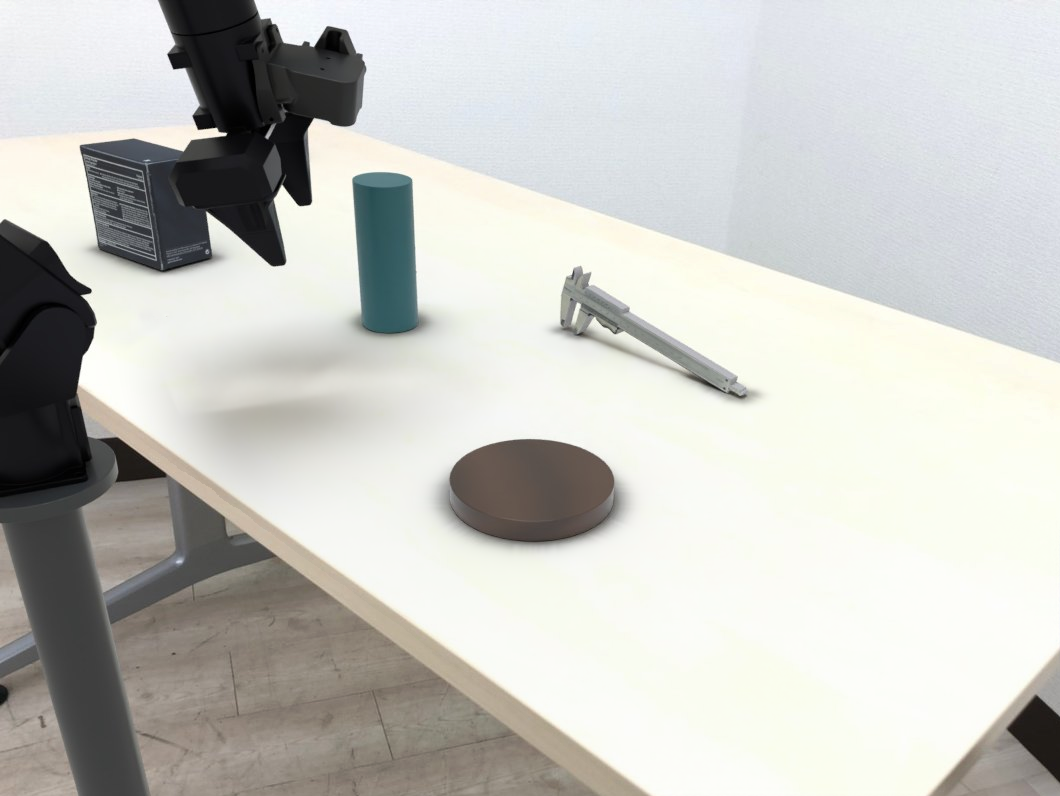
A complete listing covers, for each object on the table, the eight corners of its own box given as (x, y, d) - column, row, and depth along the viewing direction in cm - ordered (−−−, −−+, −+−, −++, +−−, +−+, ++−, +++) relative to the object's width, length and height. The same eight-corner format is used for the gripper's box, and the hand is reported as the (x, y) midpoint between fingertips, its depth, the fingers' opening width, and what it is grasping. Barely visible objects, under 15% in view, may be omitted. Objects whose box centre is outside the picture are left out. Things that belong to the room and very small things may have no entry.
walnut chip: (488, 557, 64) (488, 536, 63) (426, 474, 72) (425, 456, 71) (643, 518, 69) (644, 499, 68) (568, 445, 77) (569, 427, 76)
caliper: (559, 329, 97) (561, 263, 94) (566, 326, 98) (569, 261, 94) (741, 399, 86) (750, 328, 83) (748, 395, 87) (757, 324, 84)
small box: (218, 257, 107) (203, 153, 102) (162, 272, 102) (144, 164, 97) (151, 235, 112) (134, 134, 106) (95, 249, 107) (75, 144, 102)
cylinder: (371, 336, 92) (362, 189, 86) (355, 316, 96) (344, 173, 89) (426, 328, 95) (420, 184, 88) (407, 309, 98) (401, 170, 92)
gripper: (305, 56, 61) (379, 287, 71) (358, -38, 75) (414, 166, 85) (120, 80, 61) (220, 305, 72) (207, -19, 75) (280, 182, 86)
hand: (293, 233), depth 79 cm, fingers open, 9 cm apart
